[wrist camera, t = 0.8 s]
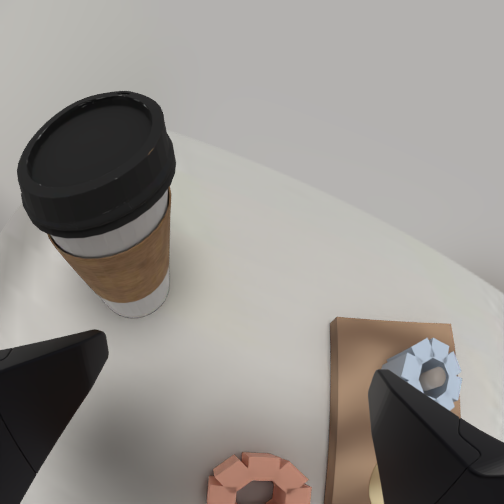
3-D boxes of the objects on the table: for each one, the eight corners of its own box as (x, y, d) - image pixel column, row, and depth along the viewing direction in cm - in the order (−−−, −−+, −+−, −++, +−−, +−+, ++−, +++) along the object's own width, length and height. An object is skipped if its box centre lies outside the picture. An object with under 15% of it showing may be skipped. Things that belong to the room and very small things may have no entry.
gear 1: (291, 524, 14) (305, 538, 11) (204, 522, 14) (204, 537, 11) (297, 453, 18) (314, 457, 15) (211, 448, 17) (212, 453, 14)
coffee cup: (196, 255, 26) (200, 95, 13) (167, 346, 21) (119, 215, 9) (112, 234, 26) (72, 88, 13) (74, 315, 21) (-23, 183, 8)
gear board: (443, 514, 14) (484, 517, 9) (317, 549, 13) (347, 573, 8) (441, 329, 25) (477, 306, 20) (330, 323, 24) (358, 295, 19)
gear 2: (442, 401, 19) (469, 393, 16) (392, 436, 17) (419, 434, 15) (418, 342, 22) (443, 328, 19) (366, 369, 20) (390, 357, 18)
